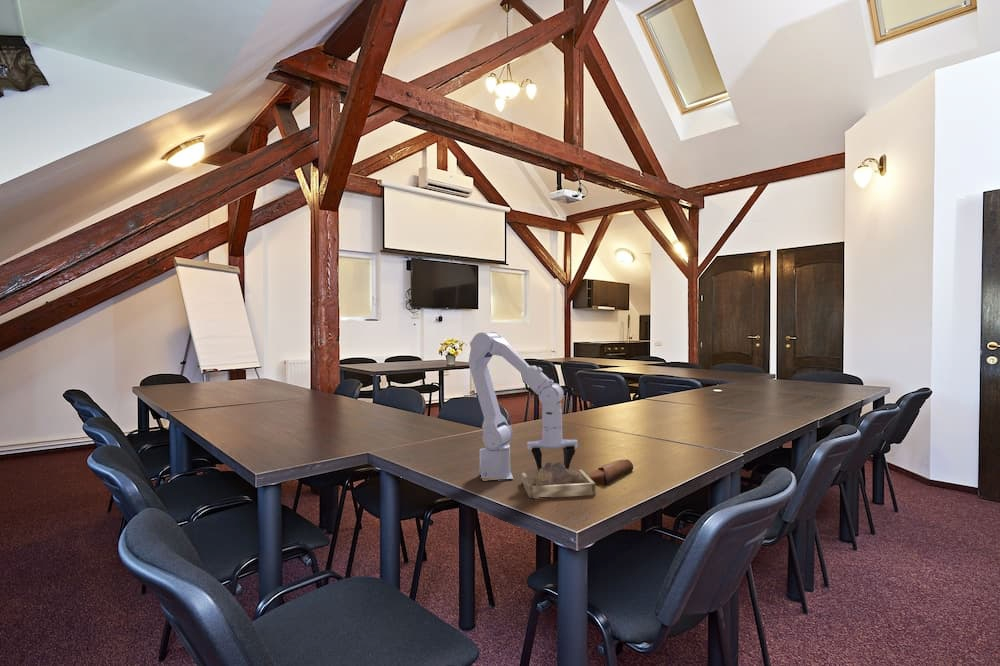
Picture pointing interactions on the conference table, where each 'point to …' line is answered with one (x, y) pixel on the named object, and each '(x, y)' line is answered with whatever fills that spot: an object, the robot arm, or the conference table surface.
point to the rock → (555, 475)
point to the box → (561, 488)
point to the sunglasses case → (611, 472)
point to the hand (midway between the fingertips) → (553, 473)
